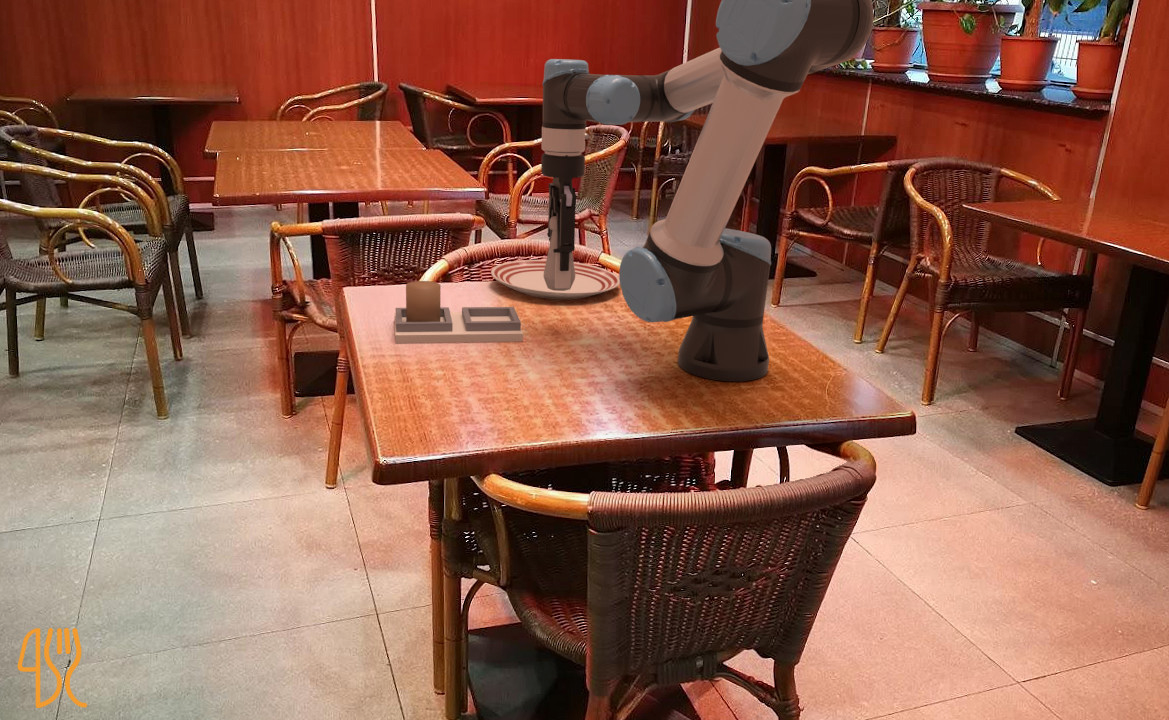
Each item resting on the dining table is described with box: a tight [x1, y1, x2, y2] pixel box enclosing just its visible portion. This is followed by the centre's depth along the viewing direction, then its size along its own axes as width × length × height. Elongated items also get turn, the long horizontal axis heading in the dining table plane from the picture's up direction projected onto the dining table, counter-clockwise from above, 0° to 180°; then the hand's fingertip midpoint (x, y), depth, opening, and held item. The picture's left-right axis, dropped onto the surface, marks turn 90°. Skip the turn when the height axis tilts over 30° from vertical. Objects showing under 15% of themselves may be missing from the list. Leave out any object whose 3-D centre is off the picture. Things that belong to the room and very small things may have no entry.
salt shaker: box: [544, 216, 575, 291], centre depth 169 cm, size 6×6×13 cm
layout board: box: [393, 280, 524, 345], centre depth 169 cm, size 13×22×8 cm, turn 101°
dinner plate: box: [490, 259, 620, 300], centre depth 201 cm, size 27×27×3 cm
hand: (559, 283), depth 171 cm, fingers closed on salt shaker, 6 cm apart
